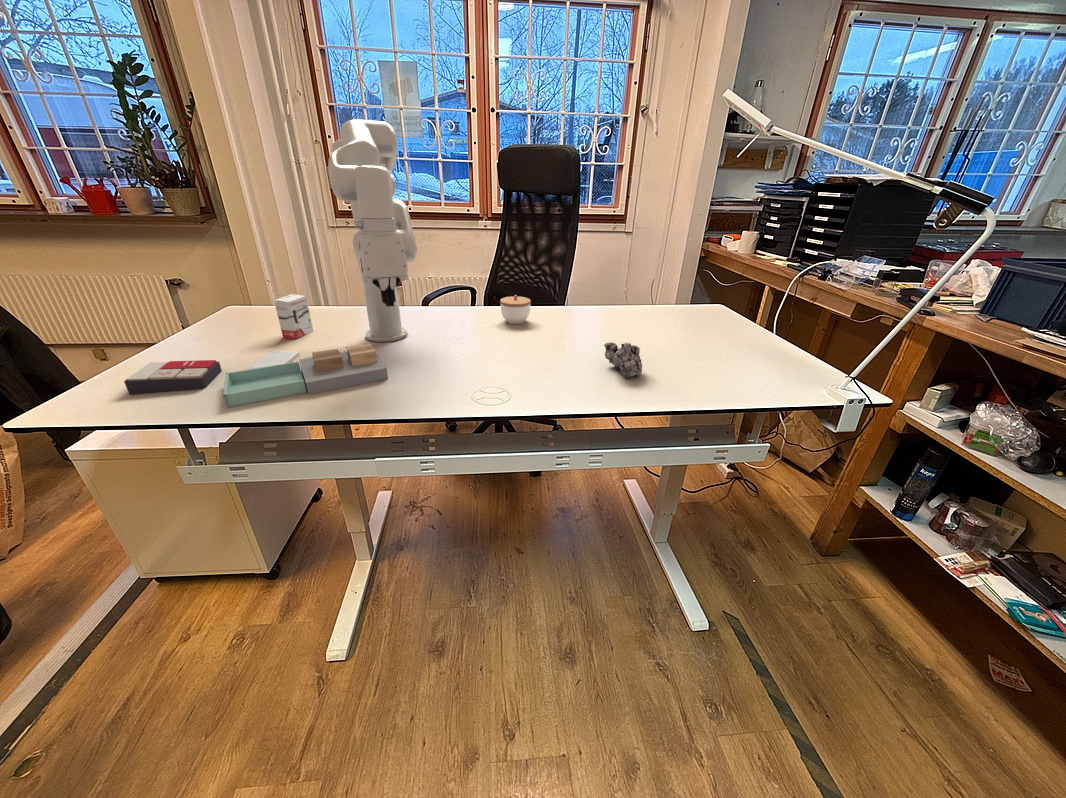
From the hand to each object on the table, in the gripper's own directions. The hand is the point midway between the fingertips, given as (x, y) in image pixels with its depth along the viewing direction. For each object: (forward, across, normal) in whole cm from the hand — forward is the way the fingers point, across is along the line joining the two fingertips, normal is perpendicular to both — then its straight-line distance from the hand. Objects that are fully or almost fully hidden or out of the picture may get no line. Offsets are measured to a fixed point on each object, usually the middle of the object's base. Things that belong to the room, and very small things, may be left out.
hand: (389, 305), depth 106 cm
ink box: (+16, -20, +40) cm, 48 cm away
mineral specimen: (+17, +52, -32) cm, 63 cm away
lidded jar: (+16, +48, +21) cm, 54 cm away
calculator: (+17, -48, +15) cm, 53 cm away
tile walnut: (+13, -16, +1) cm, 21 cm away
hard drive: (+17, -28, +17) cm, 37 cm away
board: (+16, -13, +1) cm, 21 cm away
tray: (+16, -30, +1) cm, 35 cm away
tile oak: (+13, -8, +1) cm, 16 cm away
